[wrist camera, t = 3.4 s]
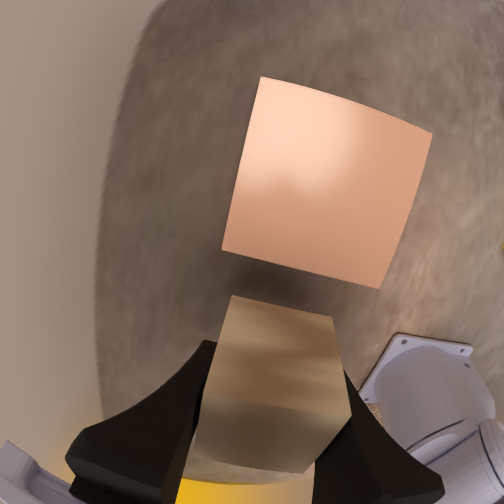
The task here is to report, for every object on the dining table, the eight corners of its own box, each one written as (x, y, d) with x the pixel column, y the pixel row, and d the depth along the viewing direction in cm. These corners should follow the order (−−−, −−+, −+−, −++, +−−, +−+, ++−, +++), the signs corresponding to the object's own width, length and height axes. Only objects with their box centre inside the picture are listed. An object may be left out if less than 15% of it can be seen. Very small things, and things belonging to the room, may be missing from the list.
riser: (418, 133, 15) (432, 134, 14) (371, 275, 19) (379, 289, 17) (263, 83, 15) (261, 76, 14) (227, 238, 19) (221, 249, 17)
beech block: (331, 316, 13) (351, 415, 8) (301, 383, 14) (303, 473, 9) (231, 294, 13) (203, 391, 8) (216, 366, 15) (192, 455, 9)
